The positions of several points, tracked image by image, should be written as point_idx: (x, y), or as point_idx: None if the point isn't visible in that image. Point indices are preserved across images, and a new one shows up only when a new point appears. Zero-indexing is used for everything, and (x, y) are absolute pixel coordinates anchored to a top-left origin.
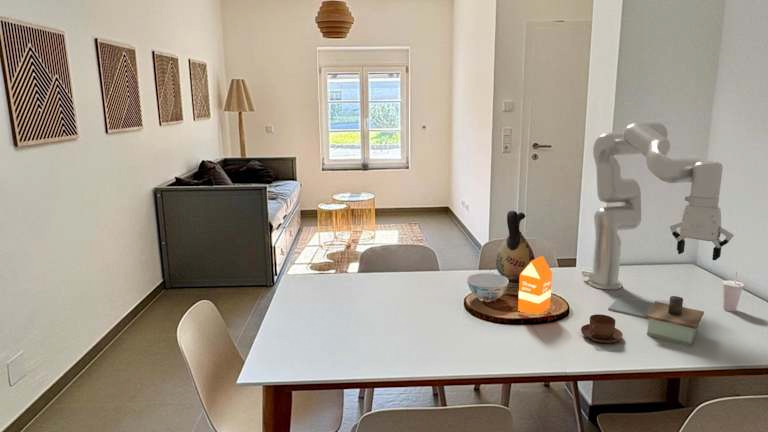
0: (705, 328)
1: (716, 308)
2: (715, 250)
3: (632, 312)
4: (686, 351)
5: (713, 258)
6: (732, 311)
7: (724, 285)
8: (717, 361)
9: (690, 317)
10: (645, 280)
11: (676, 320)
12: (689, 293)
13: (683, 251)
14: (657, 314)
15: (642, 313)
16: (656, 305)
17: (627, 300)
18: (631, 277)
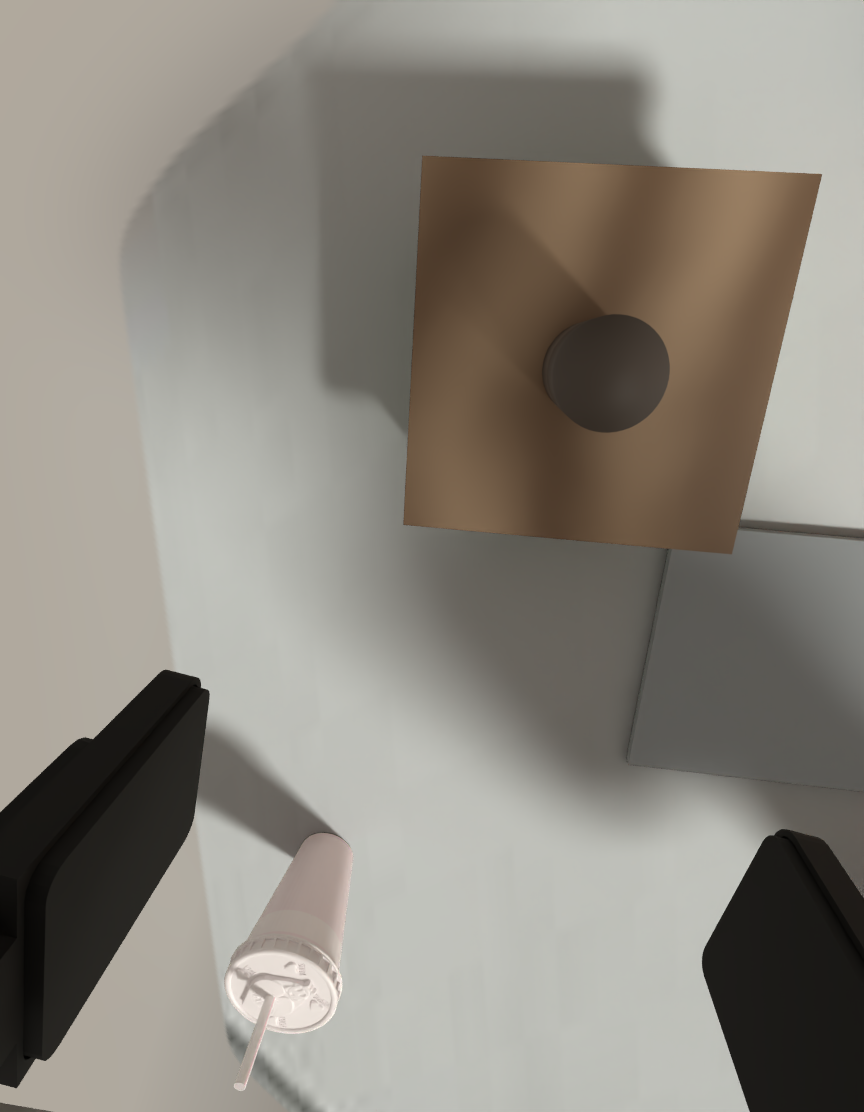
0: (405, 549)
1: (380, 843)
2: (33, 807)
3: (817, 556)
4: (475, 104)
5: (173, 685)
6: (312, 835)
7: (325, 961)
8: (302, 59)
9: (477, 341)
10: (730, 1066)
11: (571, 202)
12: (511, 977)
13: (713, 961)
14: (717, 257)
15: (754, 571)
16: (722, 469)
17: (844, 737)
18: None
